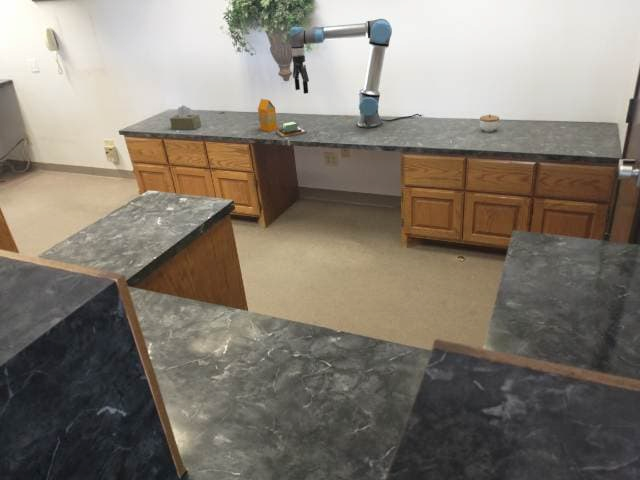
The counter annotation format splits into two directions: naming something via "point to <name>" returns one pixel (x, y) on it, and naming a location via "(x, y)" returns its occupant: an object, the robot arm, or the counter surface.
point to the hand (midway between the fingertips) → (301, 91)
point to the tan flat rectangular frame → (289, 132)
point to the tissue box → (185, 120)
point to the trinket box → (489, 122)
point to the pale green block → (289, 126)
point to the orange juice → (267, 116)
